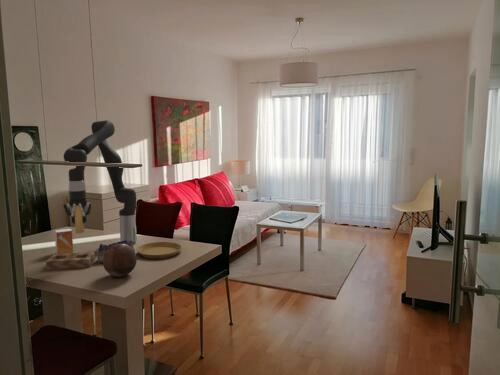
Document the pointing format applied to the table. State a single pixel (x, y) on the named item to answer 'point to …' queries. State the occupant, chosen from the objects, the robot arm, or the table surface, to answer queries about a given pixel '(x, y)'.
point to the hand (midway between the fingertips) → (79, 223)
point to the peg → (78, 220)
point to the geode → (104, 248)
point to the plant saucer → (159, 249)
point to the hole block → (70, 260)
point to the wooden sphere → (119, 260)
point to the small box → (64, 241)
